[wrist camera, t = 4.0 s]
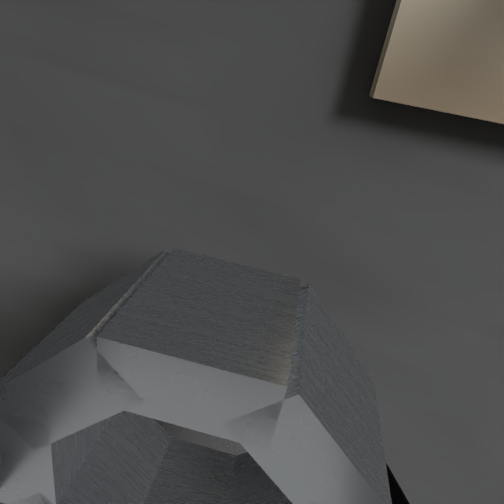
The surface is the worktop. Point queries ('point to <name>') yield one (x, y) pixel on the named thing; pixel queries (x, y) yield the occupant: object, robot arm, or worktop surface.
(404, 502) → the robot arm
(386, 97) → the post stand
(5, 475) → the ring
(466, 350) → the worktop surface
